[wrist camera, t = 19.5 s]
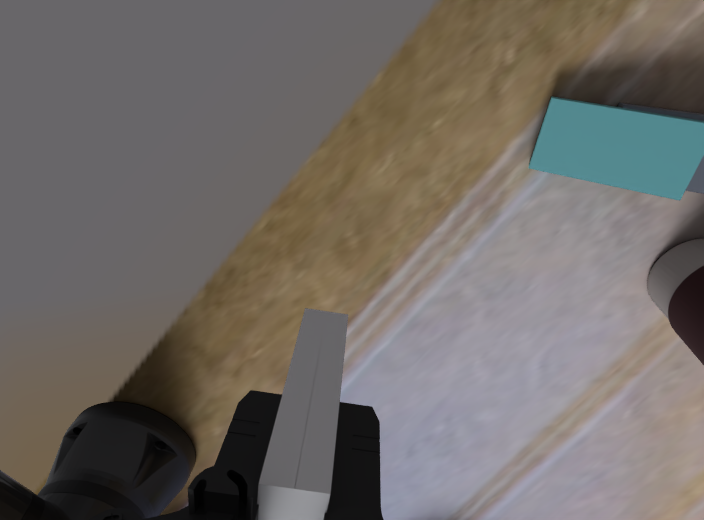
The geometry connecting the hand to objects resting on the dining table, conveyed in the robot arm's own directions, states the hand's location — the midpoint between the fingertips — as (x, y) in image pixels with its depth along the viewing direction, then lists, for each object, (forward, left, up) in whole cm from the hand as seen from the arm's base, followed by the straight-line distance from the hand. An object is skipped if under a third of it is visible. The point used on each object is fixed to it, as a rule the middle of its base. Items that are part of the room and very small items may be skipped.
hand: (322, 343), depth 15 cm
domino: (+13, +6, -21) cm, 25 cm away
